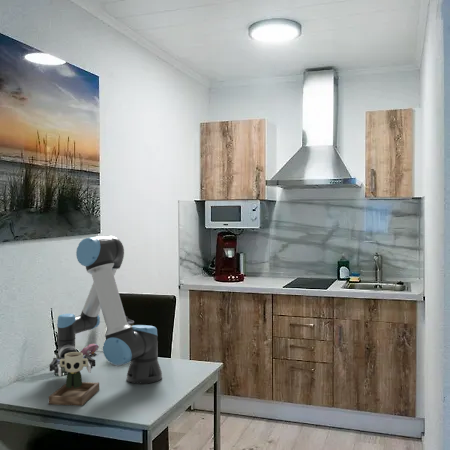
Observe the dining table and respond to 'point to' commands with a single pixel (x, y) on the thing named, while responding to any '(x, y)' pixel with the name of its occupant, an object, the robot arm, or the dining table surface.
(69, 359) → the character mug
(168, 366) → the dining table surface
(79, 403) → the wooden tray
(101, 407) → the dining table surface
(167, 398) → the dining table surface
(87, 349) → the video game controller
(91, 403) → the dining table surface
